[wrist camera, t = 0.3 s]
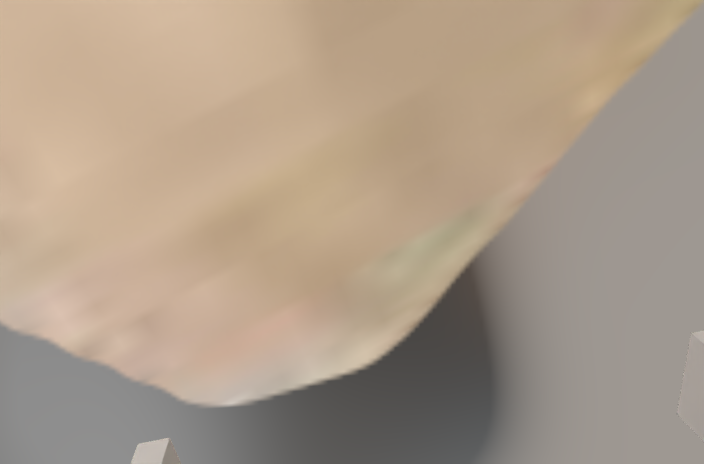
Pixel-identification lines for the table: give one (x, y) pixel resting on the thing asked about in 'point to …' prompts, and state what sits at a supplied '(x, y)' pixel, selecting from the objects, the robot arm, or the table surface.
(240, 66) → the table surface
